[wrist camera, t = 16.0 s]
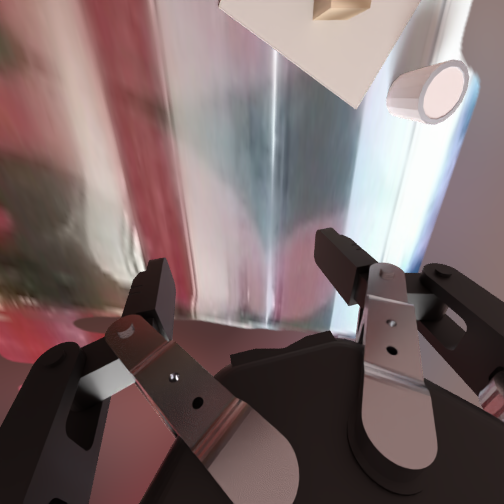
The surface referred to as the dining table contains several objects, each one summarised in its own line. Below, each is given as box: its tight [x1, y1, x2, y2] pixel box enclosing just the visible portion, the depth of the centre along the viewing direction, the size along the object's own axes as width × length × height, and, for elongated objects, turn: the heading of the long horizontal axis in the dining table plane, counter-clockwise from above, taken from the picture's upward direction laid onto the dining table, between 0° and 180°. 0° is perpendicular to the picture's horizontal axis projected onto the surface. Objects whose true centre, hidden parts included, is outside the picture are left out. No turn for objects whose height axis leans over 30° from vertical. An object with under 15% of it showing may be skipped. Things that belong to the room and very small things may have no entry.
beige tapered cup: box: [386, 60, 469, 124], centre depth 33 cm, size 7×7×7 cm
